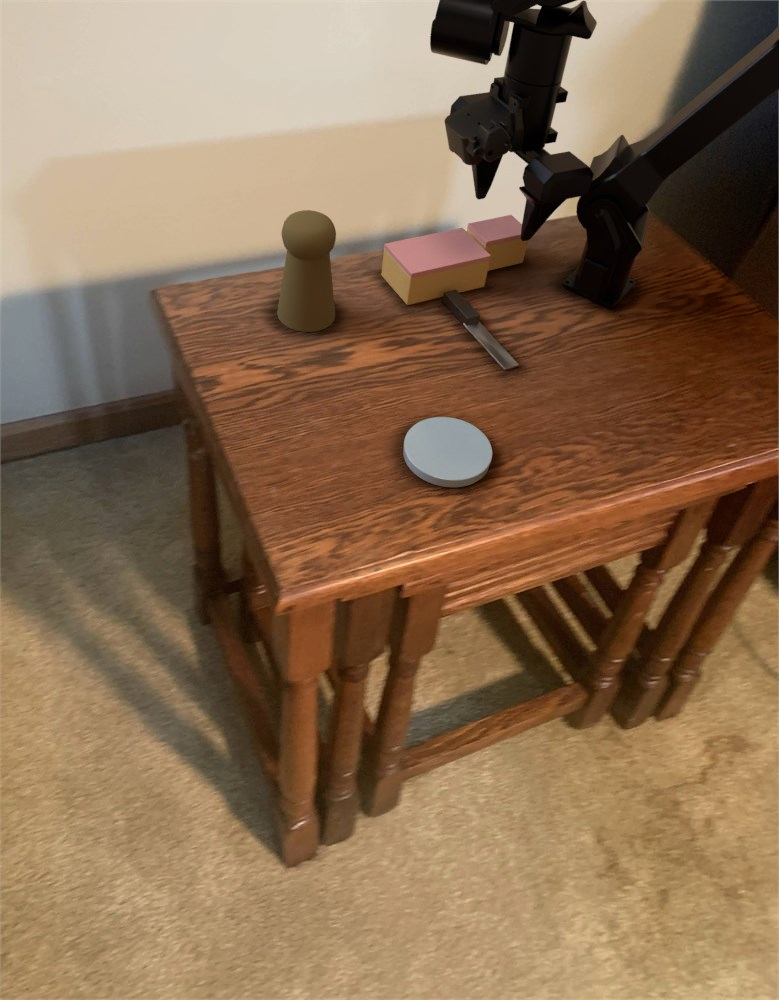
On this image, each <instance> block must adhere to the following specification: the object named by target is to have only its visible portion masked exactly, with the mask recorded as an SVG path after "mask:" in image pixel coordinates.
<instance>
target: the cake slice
mask: <svg viewBox="0 0 779 1000" xmlns="http://www.w3.org/2000/svg"><path fill="white" fill-rule="evenodd" d="M521 228H522V222H520V221H519V220H518V219H517V218H515V216H514V215H512V214H507V215H502V216H497V217H494V218H489V219H484V220H483V219H482V220H478V221H474V222H469V223H467V229H466V232H467V233H468V234H469V235H470V236H471V237H472V238H473V239H474V240H475V241H477V242H478V243H479V244H480V245H481V246H482V247H483V248H484V249H485V250H486V251H487V252H488V253H489V254H490V255H491V258H490V262H489V267H488V271H487V272H489V271H494V270H497V269H503V268H506V267H510V266H514V265H518V264H523V263H524V259H525V257H526V252H527V248H528V243H529V240H527V241H522V240H521Z"/></svg>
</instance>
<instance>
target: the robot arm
mask: <svg viewBox="0 0 779 1000" xmlns="http://www.w3.org/2000/svg"><path fill="white" fill-rule="evenodd" d="M577 1H578V0H439V1H438V4H437V8H436V11H435V16H434V19H433V20H432V23H431V27H430V36H429V39H430V40H429V46H430V51H431V53H433V54H437V55H439V56H445V57H450V58H453V59H458V60H462V61H466V62H471V63H476V64H480V65H483V66H488V64H489V63H490V62H491V61H492V57H493V55H494V56H497V57H501V56H502V54H503V51H504V49H505V46H506V42H507V39H508V34H509V29H510V23H512V24H513V25H512V30H511V36H510V41H509V45H508V52H507V57H506V62H505V66H504V72H503V76H499V77H494V78H493V82H491V83H490V86H489V91H488V92H480V93H471V94H466V95H459V96H458V97H457V99H456V100H455V101H454V102H453V103H452V104H451V106H450V112H449V114H448V115H447V116H446V117H445V119H444V126H445V132H446V138H447V145H448V149H449V151H450V152H451V153H454V154H455V155H456V156H458V157H459V158H460V159H461V161H462V163H463V164H465V165H467V166H471V171H472V172H471V173H472V179H473V185H474V186H473V187H474V195H475V198H476V199H477V200H484V199H485V198H486V197H487V195H488V193H489V191H490V189H491V187H492V184H493V182H494V179H495V177H496V174H497V171H498V170H499V167H500V164H501V162H502V160H503V159H502V158H503V156H505V155H506V154H507V153H508V152H510V153H514V154H515V155H516V156H517V157H519V158H520V159H521V160H522V161H524V163H526V164H527V165H525V167H524V170H523V174H522V182H523V185H522V186H519V187H518V189H519V191H520V193H522V195H523V196H524V198H525V205H524V210H523V217H522V222H521V224H522V228H521V240H522V241H527V240H528V241H530V240H531V239H532V238H533V237H534V236H535V234H536V233H537V232H538V231H539V230H540V229H541V228H542V226H543V225H544V224H545V223H546V222H547V220H548V219H549V218H550V217H551V216H552V214H554V212H555V211H557V209H559V207H561V206H562V204H564V202H565V201H566V200H569V199H574V198H578V199H577V204H576V216H577V221H578V222H579V224H580V225H581V226H582V228H584V229H585V231H586V240H585V242H584V246H583V249H582V252H581V256H580V258H579V259H580V260H579V263H578V264H577V265H578V266H577V268H576V269H575V270H574V271H572V272H571V273H570V275H568V276H567V277H566V278H565V279H564V280H562V284H561V285H562V287H563V288H565V289H567V290H569V291H571V292H573V293H576V294H578V295H580V296H582V297H584V298H586V299H588V300H590V301H593V302H595V303H597V304H599V305H601V306H603V307H606V308H608V309H614V308H615V307H616V306H617V305H618V304H619V303H620V302H621V301H622V300H623V299H624V298H625V297H626V296H627V295H628V294H629V293H630V291H631V290H632V289H634V287H635V285H636V281H635V280H633V279H632V278H630V277H629V276H630V274H631V271H632V268H633V266H634V263H635V260H636V258H637V256H638V255H639V254H640V252H641V251H642V249H643V246H644V240H645V236H646V232H647V228H648V223H649V219H650V214H651V209H650V207H649V205H648V203H649V202H650V201H651V199H652V198H653V196H654V195H655V194H656V192H657V191H658V190H659V189H660V187H661V186H662V184H663V183H664V182H665V181H666V180H667V179H668V177H669V176H671V175H673V173H674V172H676V171H677V170H678V169H679V168H681V167H682V166H683V165H685V164H686V163H687V162H689V161H690V160H691V159H692V158H694V157H695V156H696V155H697V154H699V153H700V152H701V151H703V150H704V149H705V148H706V147H708V146H709V145H710V144H711V143H713V142H715V140H717V139H718V138H719V137H720V136H722V135H724V133H725V132H727V131H728V130H730V129H731V128H732V127H733V126H735V125H736V124H737V123H738V122H740V121H741V120H742V119H744V118H745V117H746V116H747V115H749V114H750V113H752V112H753V110H755V109H756V108H757V107H759V106H760V105H761V104H762V103H764V102H765V101H767V100H768V99H769V98H770V97H771V96H773V95H775V93H776V92H778V91H779V25H778V26H777V27H776V28H775V29H774V30H773V32H772V33H771V34H770V35H768V36H767V37H766V38H765V39H763V40H762V41H761V42H760V43H759V44H757V45H756V46H755V47H754V48H752V49H751V50H750V51H749V52H748V53H747V54H746V55H744V56H743V57H742V58H741V59H740V60H738V61H737V62H736V63H735V64H733V65H732V66H731V67H730V68H729V69H727V71H725V72H724V73H723V74H721V76H718V78H717V79H716V80H714V81H713V82H712V83H711V84H709V85H708V86H707V87H706V88H705V89H704V90H703V91H702V92H700V93H698V95H696V96H695V97H694V98H693V99H692V100H690V101H689V102H688V103H686V105H685V106H684V107H683V108H681V109H680V110H679V111H677V112H676V113H675V114H674V115H672V116H671V118H669V119H668V120H667V121H665V122H664V123H663V124H662V125H661V126H659V128H657V129H656V130H655V131H653V132H652V133H651V134H650V135H649V136H647V137H646V138H643V139H641V140H638V141H636V142H633V143H631V144H629V142H628V140H627V138H626V137H625V135H624V134H620V136H618V137H617V138H616V139H615V141H614V142H613V143H612V144H611V145H610V147H609V148H608V149H607V150H605V151H604V152H603V153H601V154H598V155H596V156H593V158H592V160H591V163H590V165H587V164H586V163H585V162H584V161H583V160H581V159H580V158H579V157H577V156H576V155H575V154H574V153H572V152H571V151H569V150H568V151H563V152H557V153H550V152H548V151H547V150H546V149H545V147H546V144H553V143H557V138H558V134H559V132H558V131H557V130H556V129H554V128H553V127H552V124H553V120H554V119H553V118H554V114H555V110H556V106H557V104H561V103H562V104H563V103H567V99H568V94H569V91H568V90H567V89H566V88H564V87H562V81H563V77H564V73H565V69H566V65H567V61H568V57H569V52H570V48H571V44H572V40H573V37H574V38H579V39H584V40H590V39H591V38H592V36H593V33H594V32H595V30H596V27H597V25H598V24H597V23H598V21H597V20H596V19H595V17H594V16H593V14H592V13H591V11H590V9H589V8H588V3H587V1H586V0H581V1H580V2H579V3H578V4H577V5H575V6H573V7H568V6H565V5H569V4H571V3H573V2H577ZM535 6H539V7H540V8H533V7H535Z"/></svg>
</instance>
